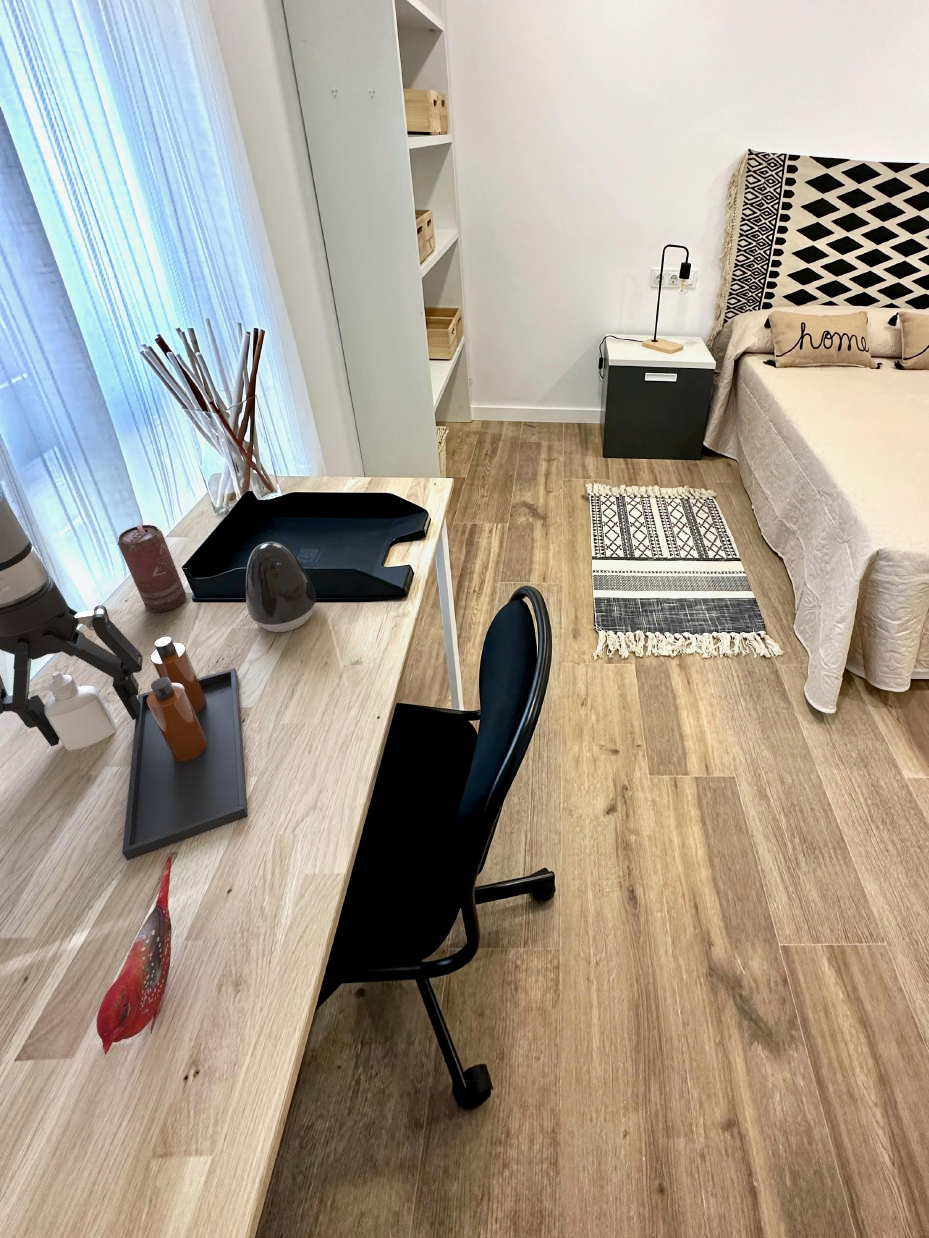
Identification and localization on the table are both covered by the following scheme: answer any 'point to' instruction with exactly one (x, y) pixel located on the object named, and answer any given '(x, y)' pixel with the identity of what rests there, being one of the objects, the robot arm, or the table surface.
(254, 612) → the dark grey rounded cone
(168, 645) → the amber bottle
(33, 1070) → the table surface
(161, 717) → the amber bottle
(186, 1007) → the table surface
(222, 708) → the tray
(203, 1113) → the table surface
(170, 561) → the can
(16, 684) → the robot arm
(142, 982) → the decorative bird figurine
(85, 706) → the eye dropper bottle
